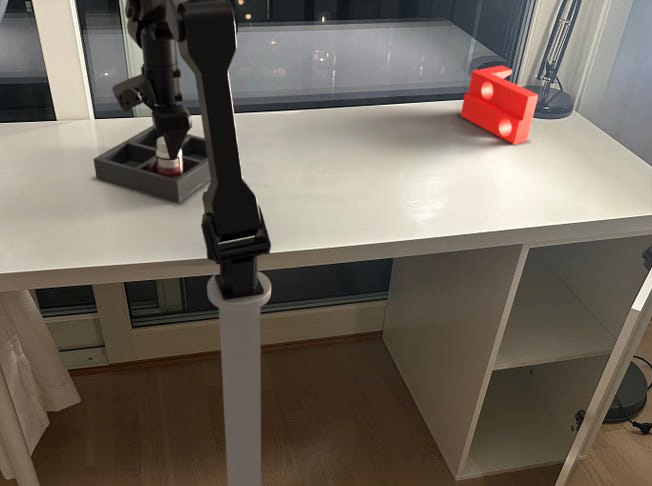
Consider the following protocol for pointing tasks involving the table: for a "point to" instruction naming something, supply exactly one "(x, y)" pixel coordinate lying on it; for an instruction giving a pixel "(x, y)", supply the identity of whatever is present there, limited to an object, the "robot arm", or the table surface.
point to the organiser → (154, 166)
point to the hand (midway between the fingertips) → (168, 149)
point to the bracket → (499, 104)
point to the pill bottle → (168, 161)
